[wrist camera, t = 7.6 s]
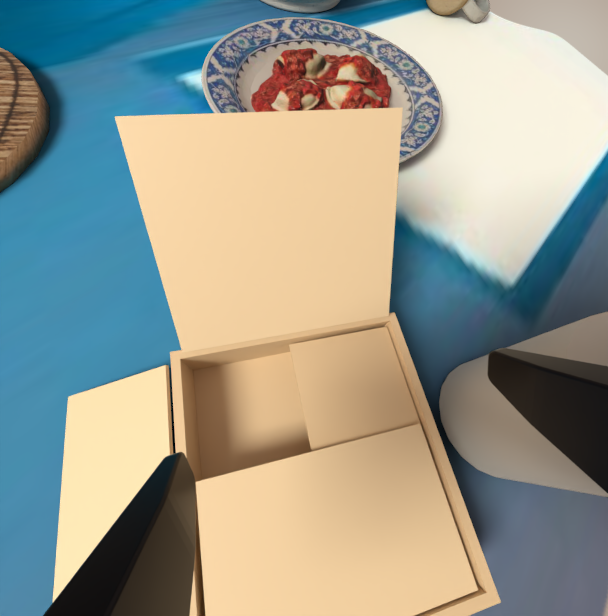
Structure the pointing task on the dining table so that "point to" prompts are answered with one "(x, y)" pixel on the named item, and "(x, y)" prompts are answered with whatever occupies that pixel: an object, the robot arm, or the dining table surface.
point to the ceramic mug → (447, 3)
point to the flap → (268, 217)
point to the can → (509, 422)
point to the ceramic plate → (321, 75)
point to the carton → (286, 477)
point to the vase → (302, 5)
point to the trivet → (19, 118)
